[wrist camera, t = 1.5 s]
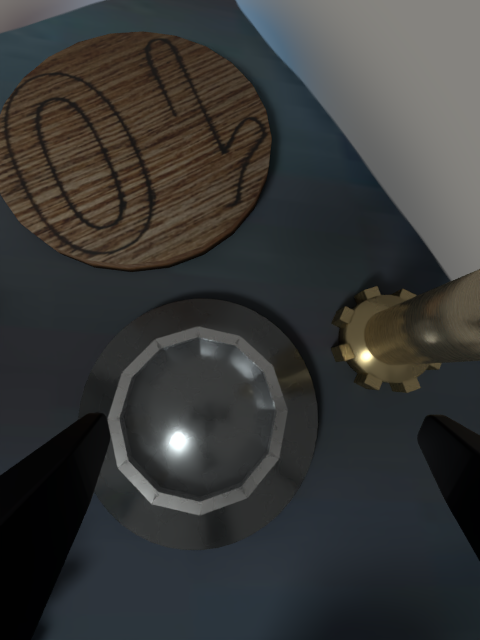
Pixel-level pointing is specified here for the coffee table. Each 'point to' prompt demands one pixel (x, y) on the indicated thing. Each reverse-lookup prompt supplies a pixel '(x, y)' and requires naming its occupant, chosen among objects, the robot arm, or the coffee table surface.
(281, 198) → the coffee table surface
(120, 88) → the trivet
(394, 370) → the brass toothed-base goblet
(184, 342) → the carrier plate
